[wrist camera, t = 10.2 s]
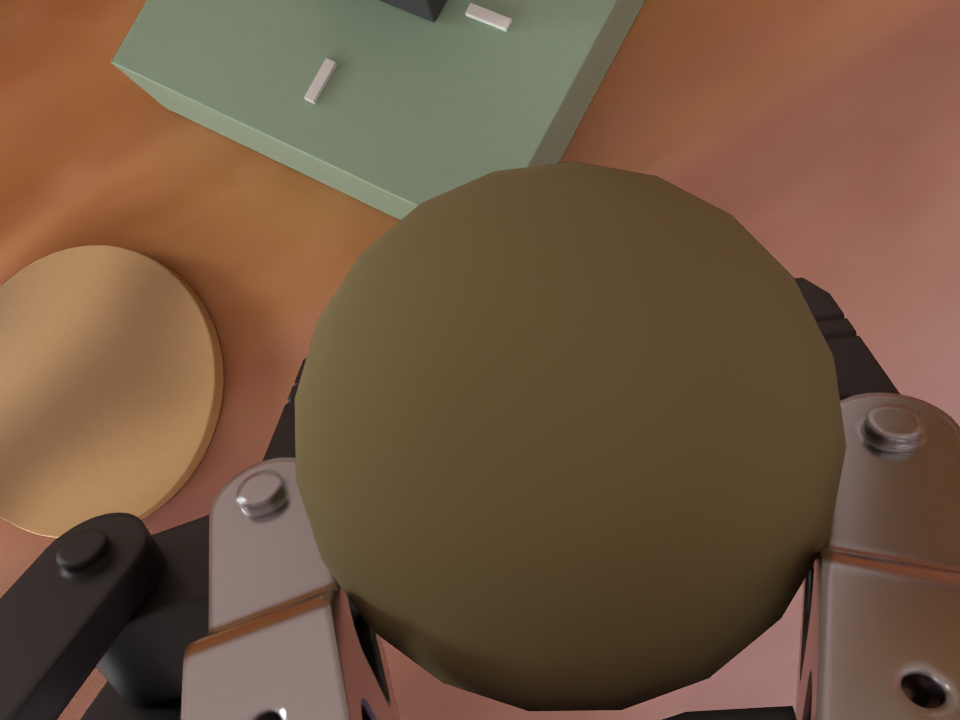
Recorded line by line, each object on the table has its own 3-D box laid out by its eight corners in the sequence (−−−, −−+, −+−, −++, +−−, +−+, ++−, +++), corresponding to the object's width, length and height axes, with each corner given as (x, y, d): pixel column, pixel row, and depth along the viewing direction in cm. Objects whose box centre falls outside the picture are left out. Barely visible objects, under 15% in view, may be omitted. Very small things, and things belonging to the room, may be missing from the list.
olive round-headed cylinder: (422, 356, 17) (140, 160, 6) (673, 294, 16) (829, -40, 6) (475, 615, 16) (242, 901, 5) (746, 560, 15) (1110, 762, 5)
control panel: (164, 107, 26) (106, 59, 23) (323, -170, 27) (287, -253, 24) (502, 269, 23) (487, 238, 20) (670, -47, 24) (681, -124, 21)
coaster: (-87, 449, 26) (-103, 448, 25) (54, 205, 26) (42, 199, 26) (129, 593, 23) (116, 596, 23) (276, 325, 24) (268, 321, 23)
